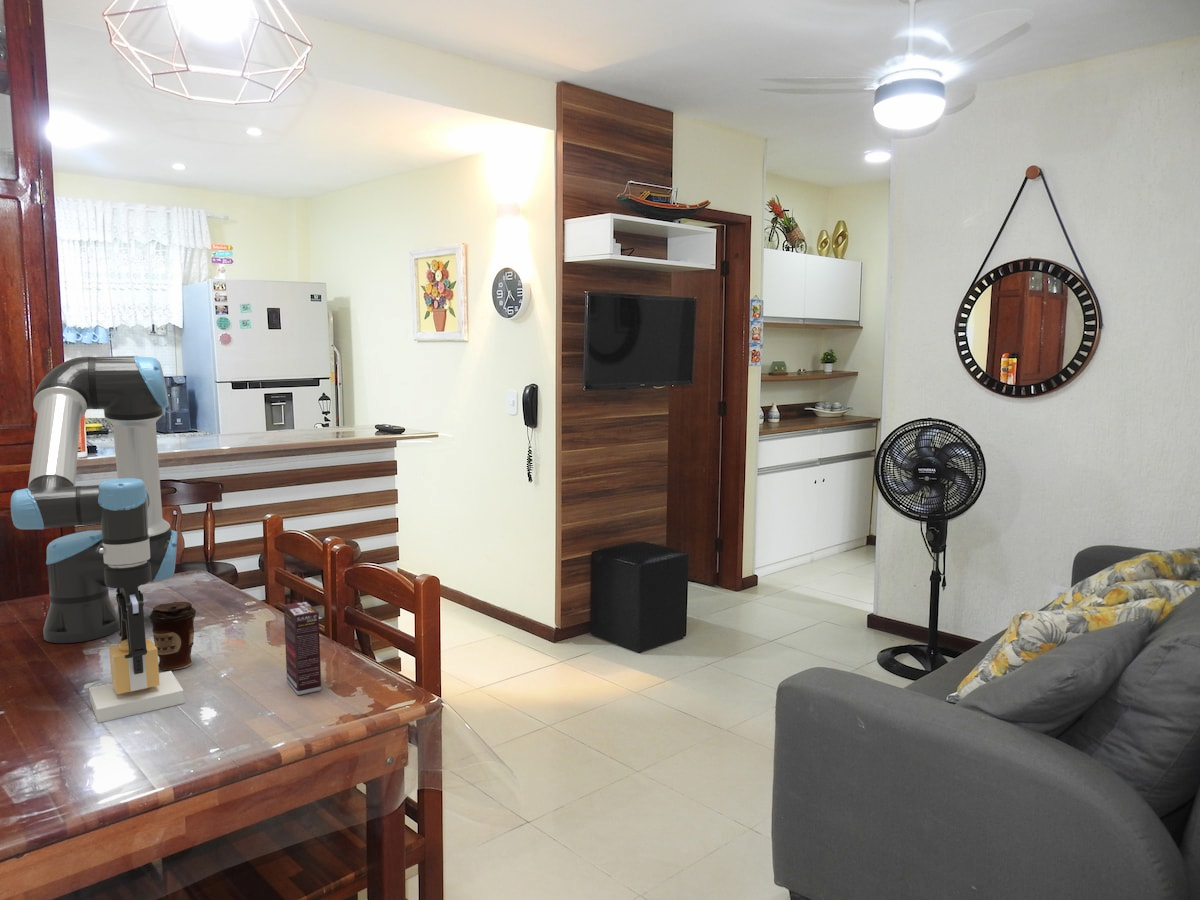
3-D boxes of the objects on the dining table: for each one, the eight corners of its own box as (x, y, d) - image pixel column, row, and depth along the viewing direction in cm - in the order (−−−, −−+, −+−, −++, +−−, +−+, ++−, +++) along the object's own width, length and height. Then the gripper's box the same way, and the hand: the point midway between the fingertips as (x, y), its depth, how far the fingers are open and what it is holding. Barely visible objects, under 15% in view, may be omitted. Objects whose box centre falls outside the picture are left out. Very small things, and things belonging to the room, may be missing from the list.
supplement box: (322, 690, 163) (319, 611, 161) (297, 696, 160) (293, 616, 158) (310, 676, 170) (307, 600, 168) (285, 681, 167) (282, 604, 165)
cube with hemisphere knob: (111, 682, 158) (108, 640, 157) (153, 673, 162) (150, 632, 161) (116, 694, 152) (113, 650, 151) (159, 685, 156) (156, 642, 156)
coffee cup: (178, 675, 171) (174, 613, 169) (143, 672, 172) (138, 610, 171) (206, 659, 179) (203, 600, 177) (172, 656, 181) (168, 598, 179)
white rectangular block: (90, 700, 158) (87, 662, 157) (171, 682, 167) (169, 646, 166) (97, 723, 149) (94, 682, 148) (184, 703, 157) (181, 664, 156)
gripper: (97, 555, 160) (105, 671, 163) (111, 577, 144) (120, 705, 147) (141, 549, 165) (148, 662, 167) (159, 570, 149) (167, 694, 151)
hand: (135, 682), depth 157 cm, fingers closed on cube with hemisphere knob, 7 cm apart
